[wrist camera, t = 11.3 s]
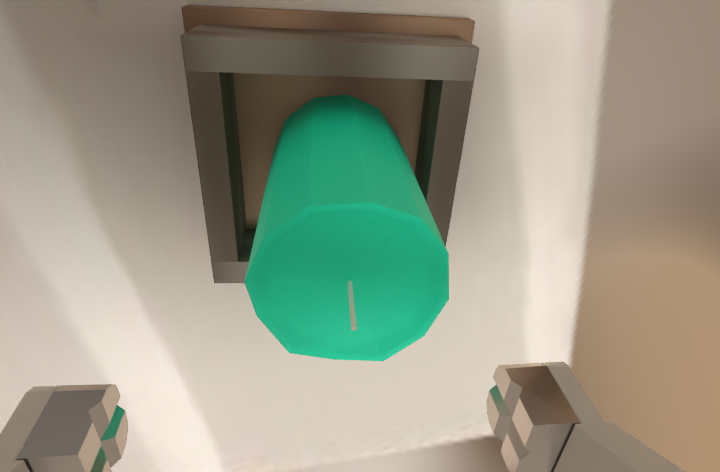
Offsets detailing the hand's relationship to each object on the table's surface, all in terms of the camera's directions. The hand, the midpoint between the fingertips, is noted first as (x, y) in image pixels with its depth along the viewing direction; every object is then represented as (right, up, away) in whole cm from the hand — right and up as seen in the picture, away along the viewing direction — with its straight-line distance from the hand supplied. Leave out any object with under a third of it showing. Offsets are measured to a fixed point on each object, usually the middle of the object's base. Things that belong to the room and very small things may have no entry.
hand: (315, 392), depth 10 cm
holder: (-1, +8, +13) cm, 15 cm away
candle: (0, +7, +12) cm, 14 cm away
